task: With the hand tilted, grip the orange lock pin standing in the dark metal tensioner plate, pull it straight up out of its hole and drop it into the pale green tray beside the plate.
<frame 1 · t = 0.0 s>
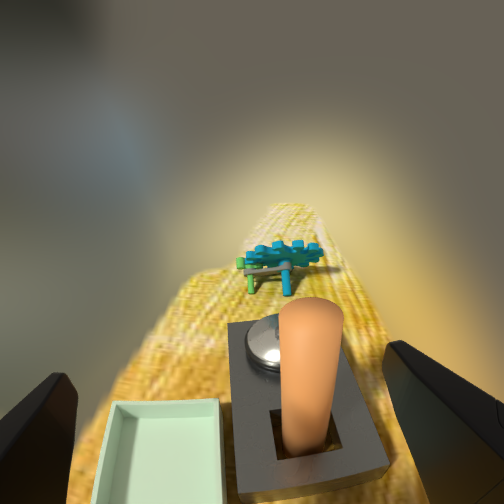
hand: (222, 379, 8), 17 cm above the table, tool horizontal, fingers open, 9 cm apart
lock pin: (303, 445, 21), resting in tensioner plate
tensioner plate: (293, 402, 25), on the table
tray: (166, 477, 19), on the table
gear: (280, 284, 43), on the table
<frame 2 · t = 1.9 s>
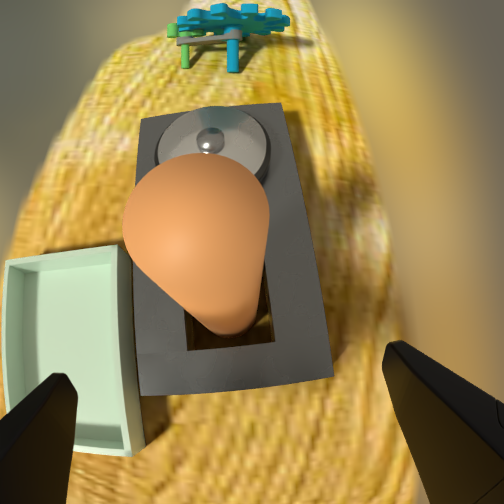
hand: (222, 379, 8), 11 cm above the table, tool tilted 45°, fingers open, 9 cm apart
lock pin: (229, 311, 19), resting in tensioner plate
tensioner plate: (222, 240, 21), on the table
tray: (72, 353, 18), on the table
gear: (228, 55, 27), on the table
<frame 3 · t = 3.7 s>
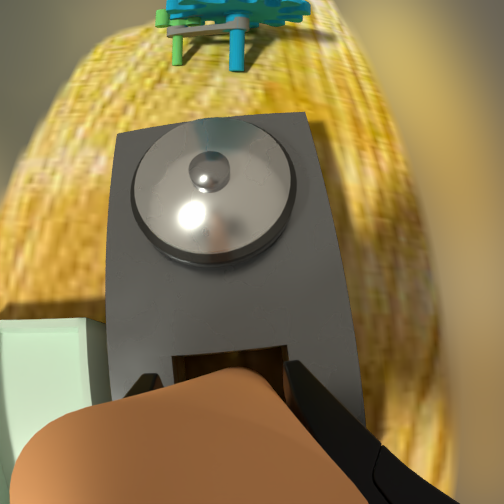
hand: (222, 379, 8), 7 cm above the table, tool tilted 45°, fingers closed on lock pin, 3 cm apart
lock pin: (237, 400, 14), resting in tensioner plate, touching gripper
tensioner plate: (227, 305, 15), on the table
tray: (48, 434, 13), on the table
gear: (232, 50, 22), on the table
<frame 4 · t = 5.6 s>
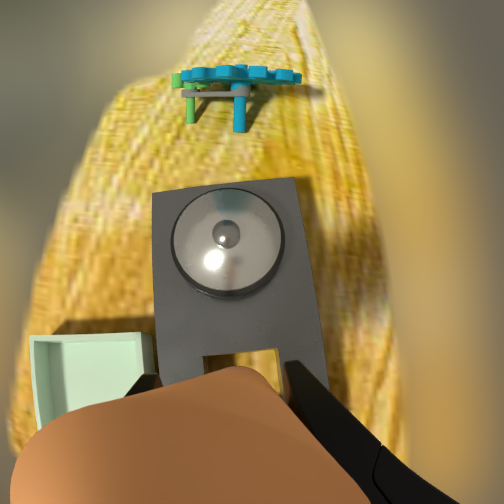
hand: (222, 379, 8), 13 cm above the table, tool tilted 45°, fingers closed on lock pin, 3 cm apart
lock pin: (237, 399, 14), point 7 cm above the table, touching gripper
tensioner plate: (237, 320, 22), on the table
tray: (102, 418, 19), on the table
gear: (236, 107, 28), on the table
when the fingers open (10 cm above the table, at t = 7.7 s): lock pin drops 2 cm, resting on tray.
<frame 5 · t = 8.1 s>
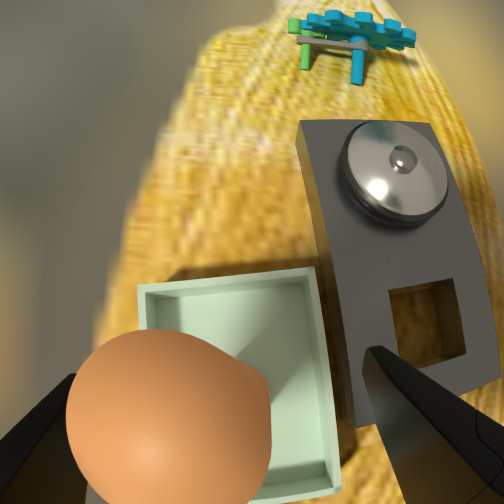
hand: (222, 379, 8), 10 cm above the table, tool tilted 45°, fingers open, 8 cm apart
lock pin: (239, 394, 16), point 1 cm above the table, touching tray
tensioner plate: (395, 258, 19), on the table
tray: (239, 393, 17), on the table
gear: (344, 64, 25), on the table
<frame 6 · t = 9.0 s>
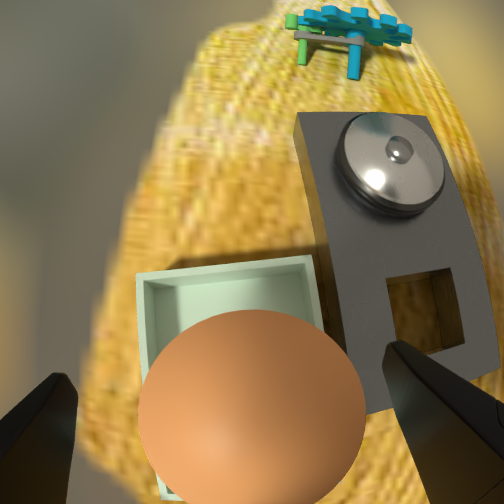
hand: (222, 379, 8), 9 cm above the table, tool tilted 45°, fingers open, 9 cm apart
lock pin: (237, 383, 16), point 1 cm above the table, touching tray
tensioner plate: (393, 248, 19), on the table
tray: (237, 382, 17), on the table
gear: (341, 59, 25), on the table
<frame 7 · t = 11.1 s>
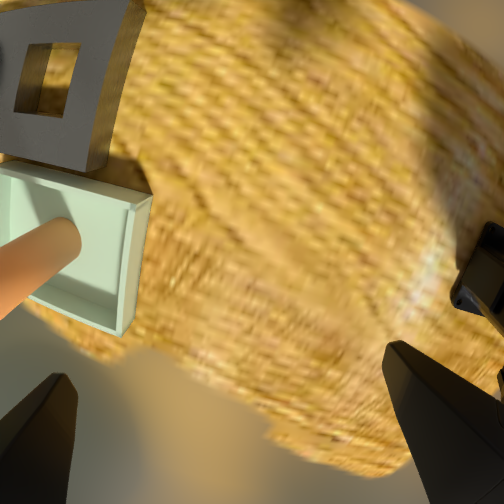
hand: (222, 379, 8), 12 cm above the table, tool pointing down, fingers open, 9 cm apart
lock pin: (63, 239, 19), point 1 cm above the table, touching tray
tensioner plate: (22, 79, 16), on the table
tray: (67, 237, 20), on the table
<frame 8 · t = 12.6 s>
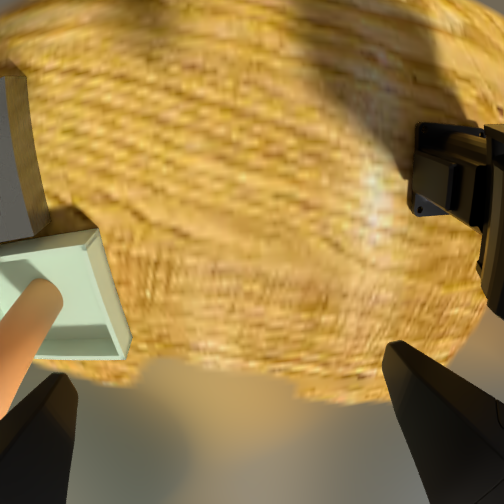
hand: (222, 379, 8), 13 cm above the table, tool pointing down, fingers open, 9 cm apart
lock pin: (45, 296, 21), point 1 cm above the table, touching tray
tray: (47, 293, 21), on the table
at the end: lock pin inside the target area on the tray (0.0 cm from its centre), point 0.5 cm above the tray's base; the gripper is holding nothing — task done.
